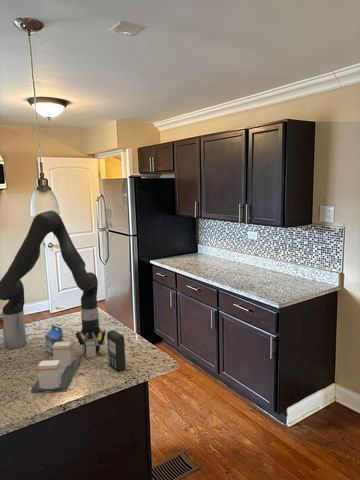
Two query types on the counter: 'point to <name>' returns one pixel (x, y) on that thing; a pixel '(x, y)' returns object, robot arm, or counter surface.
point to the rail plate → (66, 378)
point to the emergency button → (99, 340)
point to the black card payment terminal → (116, 350)
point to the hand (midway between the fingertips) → (92, 352)
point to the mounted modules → (55, 365)
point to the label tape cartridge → (53, 338)
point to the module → (91, 348)
